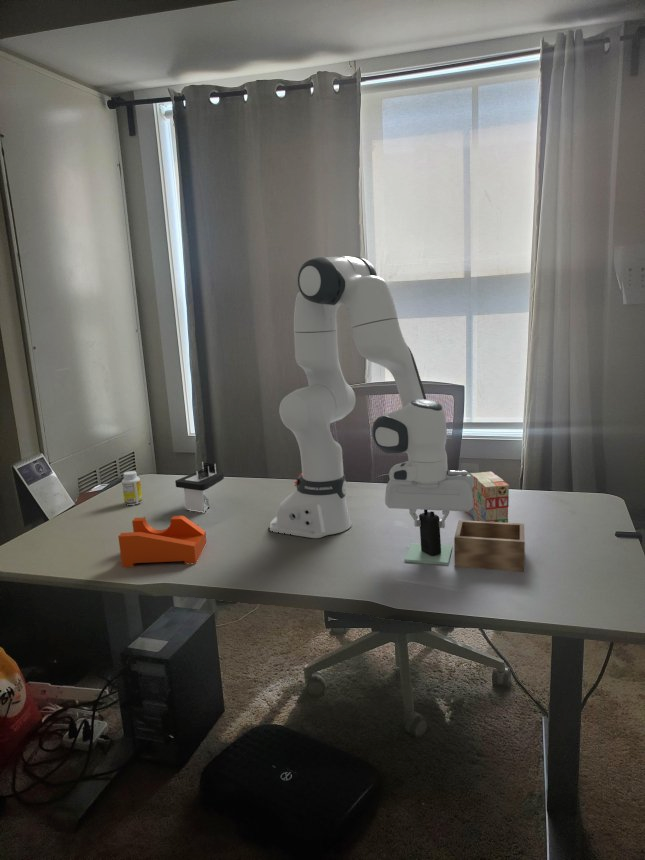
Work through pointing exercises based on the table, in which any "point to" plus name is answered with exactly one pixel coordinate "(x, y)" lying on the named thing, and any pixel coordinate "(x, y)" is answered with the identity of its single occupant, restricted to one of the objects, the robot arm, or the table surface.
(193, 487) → the black-topped pedestal
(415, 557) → the place mat
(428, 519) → the walkie-talkie
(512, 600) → the table surface
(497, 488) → the stack of blocks
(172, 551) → the orange cradle stand
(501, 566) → the access box
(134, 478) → the supplement bottle
